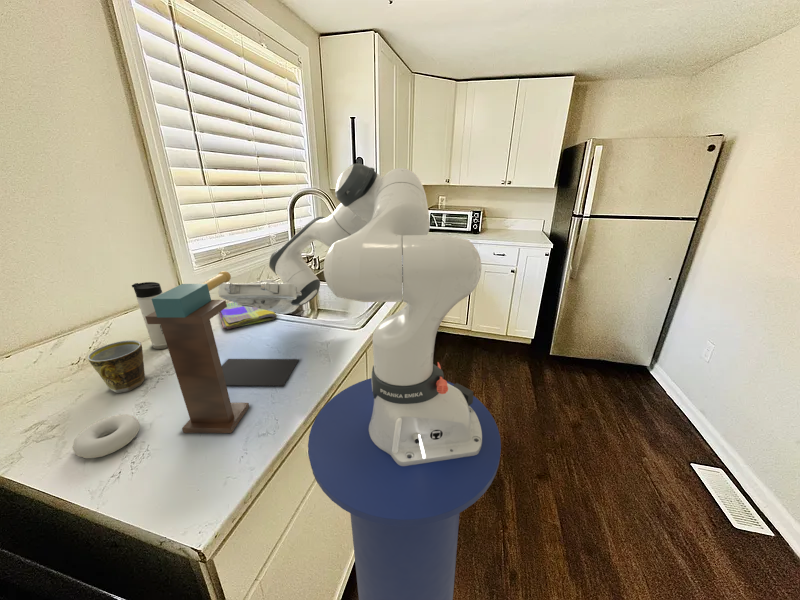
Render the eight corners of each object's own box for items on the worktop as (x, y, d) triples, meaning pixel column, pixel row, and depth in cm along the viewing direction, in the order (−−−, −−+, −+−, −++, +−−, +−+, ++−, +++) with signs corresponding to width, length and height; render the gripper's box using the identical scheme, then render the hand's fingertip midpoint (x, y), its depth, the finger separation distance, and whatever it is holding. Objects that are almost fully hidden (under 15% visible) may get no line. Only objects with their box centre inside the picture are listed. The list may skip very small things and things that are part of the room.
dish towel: (264, 299, 136) (263, 293, 135) (278, 320, 117) (277, 313, 116) (217, 308, 127) (216, 302, 126) (224, 332, 108) (222, 325, 107)
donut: (136, 450, 62) (146, 417, 70) (130, 436, 61) (141, 404, 69) (67, 471, 58) (86, 433, 66) (59, 457, 57) (80, 420, 65)
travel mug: (157, 340, 103) (138, 280, 96) (180, 338, 104) (163, 279, 97) (147, 350, 98) (126, 287, 90) (172, 348, 99) (153, 285, 91)
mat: (298, 360, 91) (298, 359, 91) (283, 386, 80) (283, 385, 80) (228, 360, 92) (228, 358, 92) (203, 386, 81) (203, 384, 81)
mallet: (239, 282, 74) (236, 267, 73) (185, 317, 56) (179, 298, 55) (218, 282, 74) (214, 267, 73) (156, 317, 56) (151, 298, 55)
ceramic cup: (113, 378, 84) (99, 344, 81) (158, 370, 88) (147, 337, 84) (88, 409, 73) (71, 372, 69) (140, 399, 76) (127, 362, 73)
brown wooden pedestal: (249, 406, 73) (225, 299, 64) (231, 433, 66) (201, 316, 56) (206, 406, 74) (175, 299, 64) (183, 432, 66) (145, 316, 57)
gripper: (303, 305, 94) (285, 298, 80) (234, 305, 95) (204, 298, 81) (304, 284, 95) (286, 273, 81) (235, 284, 96) (206, 273, 82)
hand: (245, 285), depth 81 cm, fingers open, 8 cm apart
